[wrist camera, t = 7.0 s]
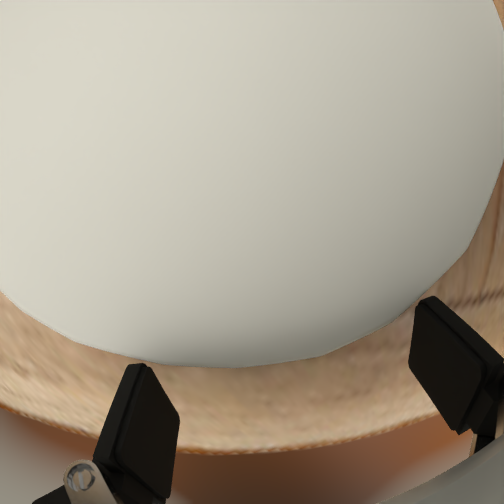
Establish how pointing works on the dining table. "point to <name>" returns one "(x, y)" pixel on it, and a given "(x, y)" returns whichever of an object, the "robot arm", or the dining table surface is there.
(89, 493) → the robot arm
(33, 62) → the plate
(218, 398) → the dining table surface
